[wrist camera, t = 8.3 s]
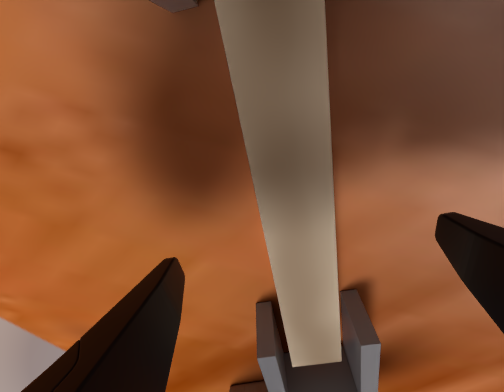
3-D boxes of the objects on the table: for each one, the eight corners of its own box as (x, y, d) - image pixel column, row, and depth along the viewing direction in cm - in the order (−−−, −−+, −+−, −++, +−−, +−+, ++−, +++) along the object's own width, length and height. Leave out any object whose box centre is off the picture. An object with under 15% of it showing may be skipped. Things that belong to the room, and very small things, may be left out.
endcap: (272, 362, 20) (276, 417, 17) (255, 303, 17) (257, 358, 14) (356, 352, 20) (376, 407, 17) (356, 289, 16) (380, 343, 13)
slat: (291, -142, 8) (313, -242, 5) (328, 317, 18) (341, 361, 16) (196, -115, 8) (171, -198, 5) (286, 322, 18) (292, 367, 16)
